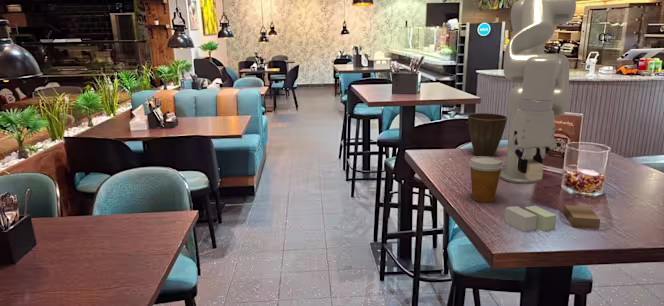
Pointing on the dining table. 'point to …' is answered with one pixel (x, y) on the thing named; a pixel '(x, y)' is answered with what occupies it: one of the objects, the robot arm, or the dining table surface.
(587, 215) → the walnut base
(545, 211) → the sage brick
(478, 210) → the dining table surface
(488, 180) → the disposable coffee cup
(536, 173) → the beech brick
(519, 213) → the grey brick
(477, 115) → the plant pot
